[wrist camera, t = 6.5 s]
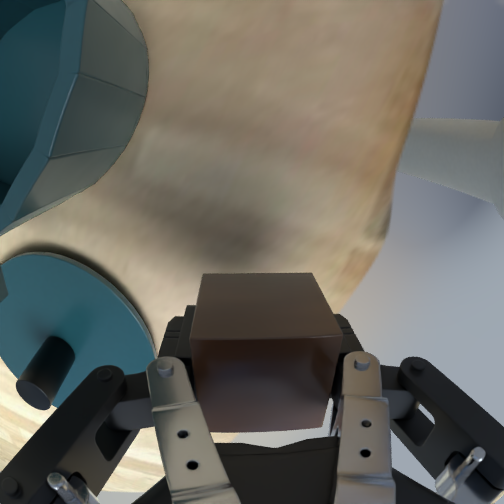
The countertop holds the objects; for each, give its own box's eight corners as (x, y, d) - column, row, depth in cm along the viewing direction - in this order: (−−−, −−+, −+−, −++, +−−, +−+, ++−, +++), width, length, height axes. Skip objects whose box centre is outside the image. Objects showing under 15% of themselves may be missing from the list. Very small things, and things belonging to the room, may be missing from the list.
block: (312, 272, 13) (344, 334, 9) (302, 356, 15) (322, 427, 11) (202, 272, 13) (188, 338, 9) (208, 359, 15) (202, 432, 10)
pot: (162, -58, 11) (131, -141, 3) (152, 243, 18) (101, 325, 10) (-11, -3, 10) (-83, -28, 2) (-16, 245, 17) (-91, 298, 9)
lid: (144, 246, 18) (111, 296, 12) (171, 416, 23) (163, 476, 17) (-27, 248, 17) (-77, 282, 11) (26, 395, 22) (2, 439, 16)
